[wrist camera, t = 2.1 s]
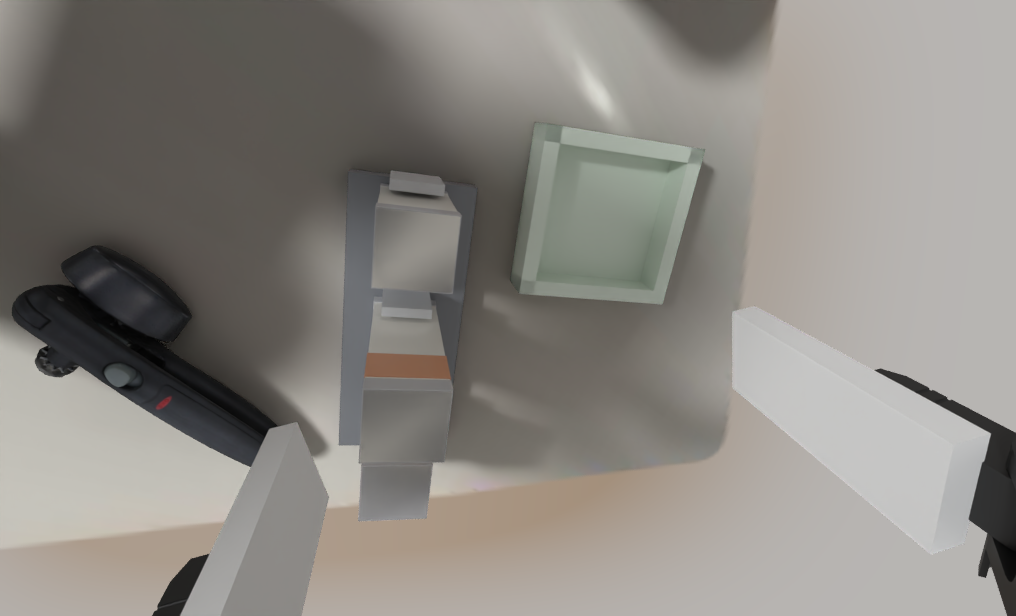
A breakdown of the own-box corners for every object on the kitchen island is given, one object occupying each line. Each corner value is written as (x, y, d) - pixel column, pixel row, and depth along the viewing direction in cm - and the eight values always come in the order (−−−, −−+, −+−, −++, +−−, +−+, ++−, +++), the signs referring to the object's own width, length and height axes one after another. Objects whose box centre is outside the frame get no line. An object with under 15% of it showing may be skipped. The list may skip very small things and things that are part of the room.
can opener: (27, 292, 30) (-49, 329, 25) (117, 227, 30) (59, 252, 25) (243, 466, 37) (219, 522, 32) (317, 416, 37) (304, 465, 32)
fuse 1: (377, 247, 32) (370, 288, 24) (380, 183, 30) (375, 206, 23) (440, 253, 33) (452, 293, 25) (446, 191, 31) (461, 215, 24)
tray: (510, 279, 36) (519, 293, 33) (534, 122, 32) (547, 123, 29) (643, 290, 39) (662, 304, 36) (681, 146, 35) (705, 149, 32)
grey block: (366, 440, 37) (358, 521, 29) (368, 392, 35) (361, 466, 28) (421, 440, 38) (426, 518, 30) (425, 394, 36) (432, 464, 29)
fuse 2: (371, 351, 34) (358, 463, 23) (374, 296, 33) (362, 388, 22) (429, 353, 35) (444, 462, 24) (435, 300, 34) (453, 390, 23)
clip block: (340, 437, 38) (331, 487, 33) (350, 162, 31) (341, 172, 26) (443, 437, 40) (449, 484, 35) (474, 178, 33) (489, 191, 28)
